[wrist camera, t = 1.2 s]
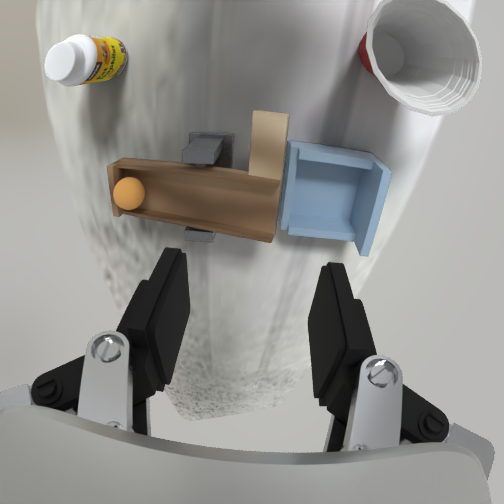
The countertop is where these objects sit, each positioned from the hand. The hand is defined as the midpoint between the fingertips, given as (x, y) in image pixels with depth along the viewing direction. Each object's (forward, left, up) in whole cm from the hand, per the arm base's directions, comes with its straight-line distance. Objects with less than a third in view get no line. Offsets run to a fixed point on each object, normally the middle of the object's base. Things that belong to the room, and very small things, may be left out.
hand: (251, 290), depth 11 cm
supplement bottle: (-10, -19, -26) cm, 33 cm away
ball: (+5, -14, -19) cm, 24 cm away
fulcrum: (+5, -6, -25) cm, 27 cm away
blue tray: (+5, +8, -25) cm, 27 cm away
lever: (+2, -7, -20) cm, 21 cm away
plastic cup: (-12, +12, -26) cm, 31 cm away
